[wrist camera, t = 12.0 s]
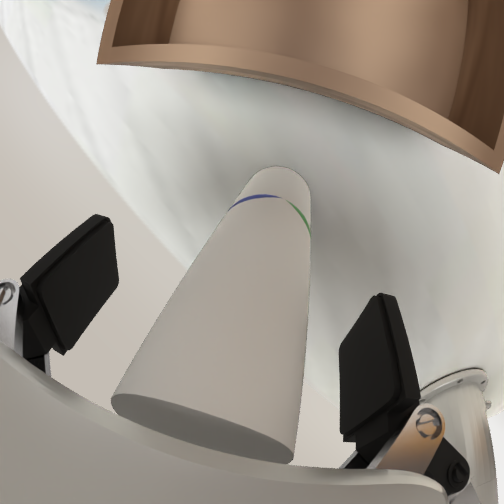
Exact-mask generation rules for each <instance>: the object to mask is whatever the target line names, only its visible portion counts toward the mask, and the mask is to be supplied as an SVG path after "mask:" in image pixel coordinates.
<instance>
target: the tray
mask: <svg viewBox="0 0 504 504" xmlns="http://www.w3.org/2000/svg"><path fill="white" fill-rule="evenodd" d="M97 64H109V65H130V66H143V67H153V68H162V69H180V70H194V71H205V72H214V73H222V74H229V75H236V76H242V77H248V78H254V79H259V80H264V81H269V82H274V83H278V84H283V85H287V86H291V87H295V88H299V89H303V90H306V91H310V92H314V93H317V94H320V95H324V96H327V97H330V98H333V99H336V100H339V101H342V102H345V103H348V104H351V105H354V106H357V107H359V108H362V109H365V110H367V111H370V112H372V113H375V114H377V115H380V116H382V117H385V118H387V119H389V120H392V121H394V122H396V123H398V124H401V125H403V126H405V127H407V128H409V129H411V130H413V131H415V132H417V133H420V134H421V135H423V136H425V137H427V138H429V139H431V140H433V141H435V142H437V143H439V144H440V145H443V146H445V147H447V148H449V149H452V150H454V151H456V152H458V153H460V154H462V155H464V156H466V157H468V158H470V159H472V160H474V161H476V162H478V163H480V164H482V165H484V166H486V167H487V168H489V169H491V170H493V171H495V172H496V173H498V174H499V173H500V170H501V167H502V164H503V161H504V0H111V3H110V6H109V9H108V13H107V17H106V21H105V25H104V29H103V33H102V38H101V42H100V47H99V53H98V58H97Z"/></svg>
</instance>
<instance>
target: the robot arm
mask: <svg viewBox="0 0 504 504" xmlns="http://www.w3.org/2000/svg"><path fill="white" fill-rule="evenodd" d="M20 280H21V282H22V285H21V286H20V287H19V285H18V283H17V282H16V281H15V280H12V279H4V280H1V281H0V504H498V493H497V478H496V468H495V460H494V452H493V446H492V440H491V434H490V430H489V425H488V420H487V415H486V411H487V409H489V408H490V407H491V402H490V401H484V397H483V393H482V392H483V391H484V390H485V388H486V386H487V384H488V378H487V375H486V373H485V372H484V371H483V370H480V369H470V370H465V371H461V372H458V373H455V374H452V375H450V376H447V377H445V378H443V379H441V380H439V381H437V382H435V383H433V384H431V385H430V386H428V387H427V388H425V389H424V390H422V391H421V392H420V389H419V384H418V379H417V374H416V370H415V365H414V361H413V357H412V353H411V349H410V345H409V341H408V337H407V334H406V330H405V326H404V323H403V320H402V316H401V313H400V310H399V306H398V303H397V300H396V298H395V297H394V296H391V295H387V294H384V293H379V294H377V296H373V297H372V298H371V299H370V301H369V302H368V304H367V306H366V307H365V309H364V310H363V312H362V313H361V315H360V317H359V318H358V320H357V321H356V323H355V324H354V326H353V327H352V329H351V330H350V331H349V333H348V334H347V336H346V337H345V339H344V340H343V342H342V343H341V345H340V348H339V372H340V433H341V434H343V442H356V450H355V451H354V452H353V454H352V455H351V456H350V457H349V458H348V459H347V460H346V461H345V462H344V463H343V464H342V465H341V467H340V468H339V469H335V468H319V467H307V466H297V465H296V466H295V465H288V464H280V463H273V462H267V461H261V460H256V459H250V458H245V457H241V456H236V455H232V454H227V453H223V452H219V451H215V450H212V449H208V448H204V447H201V446H197V445H194V444H191V443H188V442H185V441H182V440H179V439H176V438H173V437H170V436H167V435H164V434H162V433H159V432H156V431H154V430H151V429H149V428H146V427H144V426H141V425H139V424H137V423H134V422H132V421H130V420H128V419H125V418H123V417H121V416H119V415H117V414H115V413H113V412H111V411H109V410H106V409H104V408H103V407H101V406H99V405H97V404H95V403H93V402H91V401H89V400H88V399H86V398H84V397H82V396H80V395H79V394H77V393H75V392H74V391H72V390H70V389H69V388H67V387H65V386H64V385H62V384H61V383H59V382H57V381H56V380H54V379H53V378H51V370H50V359H49V351H50V349H51V348H53V349H54V350H55V351H57V352H58V353H60V354H62V355H64V354H65V353H66V351H67V350H70V349H72V348H73V346H74V345H75V343H76V342H77V341H78V339H79V338H80V336H81V335H82V333H83V332H84V331H85V329H86V328H87V326H88V325H89V324H90V322H91V321H92V320H93V318H94V317H95V316H96V314H97V313H98V312H99V310H100V309H101V307H102V306H103V305H104V304H105V302H106V301H107V300H108V298H109V297H110V295H112V293H113V292H114V290H115V289H116V288H117V286H118V283H119V276H118V268H117V259H116V250H115V240H114V228H113V224H112V223H111V221H110V219H109V218H108V217H105V216H101V215H98V214H95V215H93V216H91V217H90V218H89V219H88V220H86V221H85V222H84V223H82V224H81V225H80V226H79V227H78V228H76V229H75V230H74V231H72V232H71V233H70V234H69V235H67V236H66V237H65V238H64V239H63V240H61V241H60V242H59V243H58V244H57V245H56V246H54V247H53V248H52V249H51V250H50V251H49V252H48V253H46V254H45V255H44V256H43V257H42V258H41V259H40V260H39V261H38V262H36V263H35V264H34V265H33V266H32V267H31V268H30V269H29V270H28V271H27V272H26V273H25V274H24V275H23V276H22V277H21V278H20Z"/></svg>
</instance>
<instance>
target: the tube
mask: <svg viewBox="0 0 504 504" xmlns="http://www.w3.org/2000/svg"><path fill="white" fill-rule="evenodd" d="M310 253H311V195H310V190H309V187H308V185H307V183H306V182H305V180H304V179H303V178H302V177H301V176H300V175H299V174H298V173H296V172H295V171H293V170H291V169H288V168H286V167H280V166H273V167H268V168H264V169H262V170H260V171H258V172H257V173H256V174H255V175H253V177H252V178H251V179H250V180H249V182H248V183H247V185H246V186H245V187H244V189H243V190H242V192H241V193H240V194H239V196H238V197H237V199H236V200H235V201H234V203H233V204H232V206H231V207H230V209H229V210H228V212H227V213H226V214H225V216H224V217H223V219H222V220H221V222H220V223H219V225H218V226H217V227H216V229H215V230H214V232H213V233H212V235H211V236H210V238H209V239H208V241H207V242H206V244H205V245H204V247H203V248H202V250H201V251H200V253H199V254H198V256H197V257H196V259H195V260H194V262H193V263H192V265H191V266H190V268H189V270H188V271H187V273H186V274H185V276H184V277H183V279H182V280H181V282H180V284H179V285H178V287H177V288H176V290H175V291H174V293H173V295H172V296H171V298H170V299H169V301H168V303H167V304H166V306H165V307H164V309H163V311H162V312H161V314H160V315H159V317H158V319H157V320H156V322H155V324H154V325H153V327H152V328H151V330H150V332H149V333H148V335H147V337H146V338H145V340H144V342H143V343H142V345H141V347H140V349H139V350H138V352H137V354H136V355H135V357H134V359H133V360H132V362H131V364H130V366H129V367H128V369H127V371H126V373H125V374H124V376H123V378H122V380H121V381H120V383H119V385H118V387H117V389H116V390H115V392H114V394H113V396H112V398H111V404H112V406H113V409H114V410H115V411H116V413H117V414H118V415H119V416H121V417H123V418H125V419H128V420H130V421H132V422H134V423H137V424H139V425H141V426H144V427H146V428H149V429H151V430H154V431H156V432H159V433H162V434H164V435H167V436H170V437H173V438H176V439H179V440H182V441H185V442H188V443H191V444H194V445H197V446H201V447H204V448H208V449H212V450H215V451H219V452H223V453H227V454H232V455H236V456H241V457H245V458H250V459H256V460H261V461H267V462H273V463H280V464H288V463H290V462H291V461H292V460H293V457H294V450H295V443H296V436H297V429H298V420H299V413H300V404H301V396H302V386H303V376H304V365H305V353H306V340H307V326H308V309H309V288H310Z"/></svg>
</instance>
